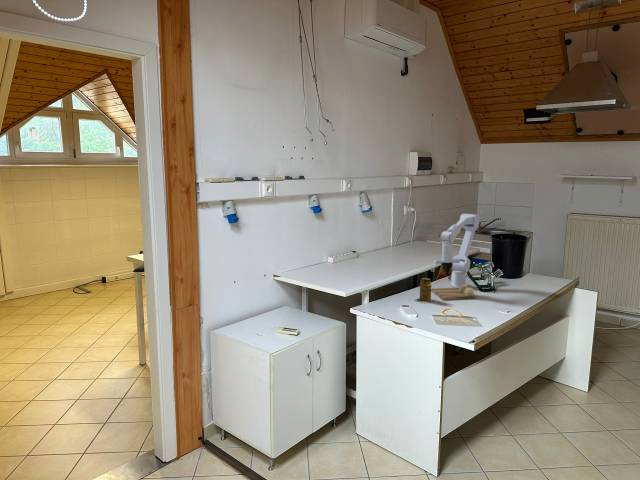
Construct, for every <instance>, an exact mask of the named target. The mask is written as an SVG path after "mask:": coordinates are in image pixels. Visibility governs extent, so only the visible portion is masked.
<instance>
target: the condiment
mask: <svg viewBox="0 0 640 480" xmlns="http://www.w3.org/2000/svg"><path fill="white" fill-rule="evenodd" d="M431 281H432V280H431V278H429V277H422V278H420V283H419V298H416V299H414V301H415V302H419V303H424V304H426V303H430V302H431V301H434V299H433V298H432V291H431V289H432V283H431Z"/></svg>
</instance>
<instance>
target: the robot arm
mask: <svg viewBox="0 0 640 480" xmlns="http://www.w3.org/2000/svg"><path fill="white" fill-rule="evenodd" d="M479 224H480V216H479V214H473V213H465V212H464V213H461V215H460V216H459V220H457V222H456V223H454V224H452V225H451V226H450V227H448V229H447V230H446V231H445V230H444V231H442V232H441V233H440V240H441V242H440V243H441V244H442V248H441V259H434V260H433V263H434V265H437V264H438V265H439V264H440V265H441V267H442V269H443V272H444V276H445V277H449V274H450V271H451V270H452V271H451V281H450V282H449V284H450V285H451V286H452V287H453V288H454V287H460V285H461V284H464V285H467V273H468V272H469V271H470V268H471V265H470V264H471V260H470V259H469V256H468V255H469V253H470V249H471V246H472V242H473V239H474V235H475V234H476V230H478V228H479ZM461 229H464V230H465V233H464V236H463V238H462V239H463V240H462V242H461V246H460V248H459V249H460V250H459V251H458V254H457V255H455V256H454V257H453V252H454V251H453V243H454V242H455V239H456V237H457V236H458V234H460V232H461Z"/></svg>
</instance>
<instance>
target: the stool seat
mask: <svg viewBox="0 0 640 480" xmlns="http://www.w3.org/2000/svg"><path fill="white" fill-rule="evenodd" d="M431 293H434V295H436V296H437V298H440V299H441V300H442V301H454V300H455V301H457V300H459V301H460V300H469V299H470V300H471V299H472V300H473V299H475V297H476V296H475V294H474V295H467V294H465V293H464V292H462V291H461V290H460V287H454V286H453V287H434V288H431Z"/></svg>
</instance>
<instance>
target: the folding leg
mask: <svg viewBox="0 0 640 480" xmlns="http://www.w3.org/2000/svg"><path fill="white" fill-rule="evenodd" d="M460 290H461V291H462V292H464V293H465V294H467V295H474V296H475V289H474V288H473V287H471V286H469V285H467V284H466V285H464V284H461V285H460Z"/></svg>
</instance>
